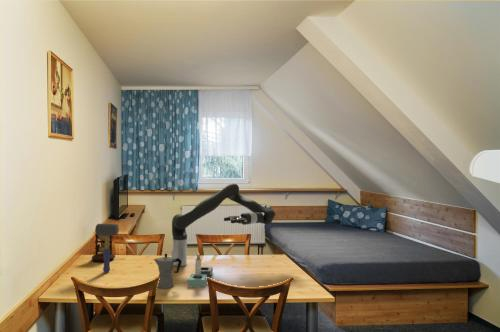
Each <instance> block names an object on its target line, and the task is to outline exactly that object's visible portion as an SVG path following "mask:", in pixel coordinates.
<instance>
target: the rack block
mask: <svg viewBox="0 0 500 332" xmlns="http://www.w3.org/2000/svg"><path fill="white" fill-rule="evenodd" d="M206 277H207V275H204V274H201V279H198V278H195V273H191V274H190V275H189V277H188V278H187V287H188V286H192V287H191V288H205V287H206V284H207V283H206Z"/></svg>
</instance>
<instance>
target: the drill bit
mask: <svg viewBox="0 0 500 332" xmlns="http://www.w3.org/2000/svg"><path fill="white" fill-rule="evenodd" d="M194 265H195V266H194V268H195V271H194V274H195V278H198V279H201V266H202V258H201V253H196V258H195V264H194Z"/></svg>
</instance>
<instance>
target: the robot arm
mask: <svg viewBox="0 0 500 332" xmlns="http://www.w3.org/2000/svg"><path fill="white" fill-rule="evenodd" d="M226 199H228V200H230V201H232V202H235V203H237V204H238V205H241V206H243V207H245V208H246V209H247V210H249V211H250V212H242V213H241V214H240V215H228V216H227V217H226V216H225V217H223V221H224V222H230V224H239V225H243V226H244V225H245V226H246V225H253V224H264V225H270V224H272V223H273V220H274V219H275V216H276V212H275V211H274V210H273V209H271V208H269V207H267V206H263V205H261V204H260V203H259V202H256V201H255V200H254V199H253V200H252V199H249V198H246V197H244V196H243V195H241V193H240V187H239V185H238V184H237V183H230V184H228V185H226V186H224V187H223V188H222V189H221V190H220V191H218V192H216V193H214V194H213V195H211V196H209V197H208V198H205V199H203V200H202V201H200V202H199V203H198V204H197V205H196V206H195V207H194V208H193V209H192V210H190V211H188V212H186V213H184V214H182V213H177V214H175V215H174V216H173V218H172V220H171V233H172V234H171V235H172V250H171V257H173V258H179V259H180V260H181V261H182V263H181V266H180V267H183V266H186V265H187V264H188V263H187V259H188V257H187V256H188V255H187V254H188V249H187V248H188V235H187V231H186V230H187V228H188V227H189V226H191V225H192V224H193V223H194V222H196V221H197V220H199V219H201V218H202V217H205V216H206V215H207V214H209V213H212V212H213V211H215V210H216V209H217V208H218V207H219V206H220V205H221V204H222V203H223V202H224V201H225V200H226ZM178 263H179V262H174V264H173V267H178Z"/></svg>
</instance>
